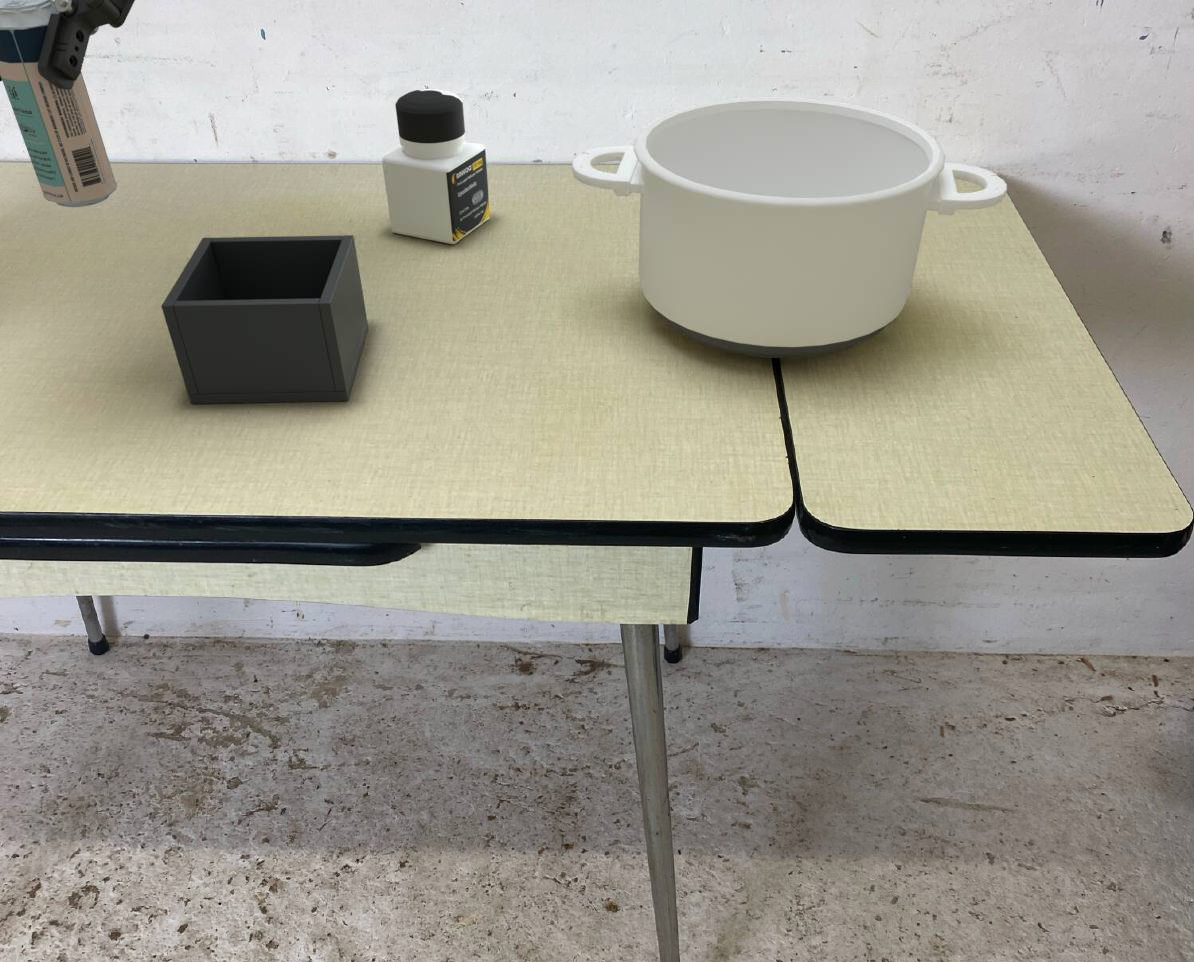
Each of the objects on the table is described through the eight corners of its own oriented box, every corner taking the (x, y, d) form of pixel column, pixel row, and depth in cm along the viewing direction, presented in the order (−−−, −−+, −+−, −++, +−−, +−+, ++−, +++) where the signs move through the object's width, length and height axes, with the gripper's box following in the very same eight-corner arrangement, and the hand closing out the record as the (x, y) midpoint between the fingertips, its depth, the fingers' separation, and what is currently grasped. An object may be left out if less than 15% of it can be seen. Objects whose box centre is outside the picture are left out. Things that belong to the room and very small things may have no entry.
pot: (958, 264, 95) (996, 104, 85) (986, 397, 77) (1038, 215, 68) (597, 241, 99) (596, 86, 90) (548, 362, 82) (541, 186, 73)
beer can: (128, 183, 73) (69, -10, 65) (108, 209, 70) (44, 9, 62) (58, 185, 73) (-10, -9, 65) (35, 211, 70) (-39, 10, 62)
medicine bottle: (454, 246, 98) (441, 111, 90) (390, 233, 100) (372, 100, 92) (491, 218, 103) (482, 88, 95) (429, 207, 105) (415, 79, 97)
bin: (190, 404, 77) (160, 305, 72) (226, 330, 86) (202, 237, 81) (348, 401, 77) (329, 302, 72) (368, 327, 86) (353, 234, 81)
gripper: (219, -133, 67) (153, 122, 67) (40, -143, 71) (-23, 99, 70) (141, -233, 60) (67, 53, 59) (-54, -237, 63) (-125, 32, 63)
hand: (18, 77), depth 65 cm, fingers closed on beer can, 4 cm apart
